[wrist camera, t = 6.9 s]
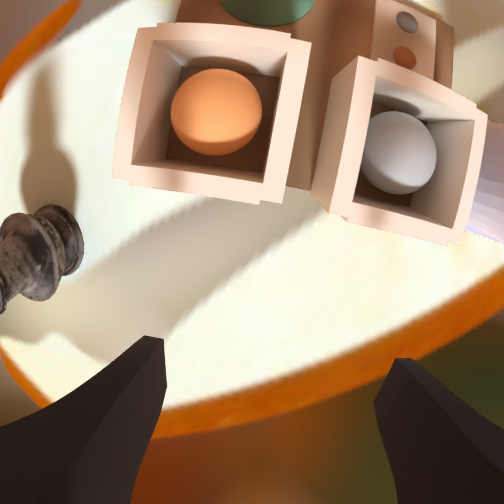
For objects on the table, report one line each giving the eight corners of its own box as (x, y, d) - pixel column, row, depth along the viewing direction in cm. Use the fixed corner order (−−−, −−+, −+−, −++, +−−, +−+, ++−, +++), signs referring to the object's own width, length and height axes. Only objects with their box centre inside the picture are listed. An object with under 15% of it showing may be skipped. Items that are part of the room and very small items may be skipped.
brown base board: (444, 25, 12) (455, 19, 10) (417, 215, 16) (429, 221, 15) (200, -36, 11) (196, -48, 10) (155, 163, 16) (146, 165, 14)
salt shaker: (22, 251, 18) (-86, 327, 7) (39, 185, 16) (-100, 240, 5) (74, 293, 19) (-25, 400, 8) (98, 228, 17) (-40, 328, 6)
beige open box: (298, 67, 13) (312, 38, 9) (275, 190, 15) (280, 208, 11) (170, 52, 13) (139, 23, 8) (150, 171, 15) (111, 183, 11)
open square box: (439, 114, 13) (488, 111, 9) (416, 223, 15) (459, 249, 11) (332, 75, 13) (358, 51, 9) (309, 197, 15) (327, 218, 11)
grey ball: (418, 127, 14) (458, 126, 10) (404, 195, 15) (441, 211, 11) (353, 105, 13) (382, 94, 10) (339, 177, 15) (364, 189, 11)
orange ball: (267, 85, 13) (272, 65, 10) (253, 160, 15) (253, 165, 11) (190, 75, 13) (169, 54, 9) (177, 148, 14) (151, 151, 11)
